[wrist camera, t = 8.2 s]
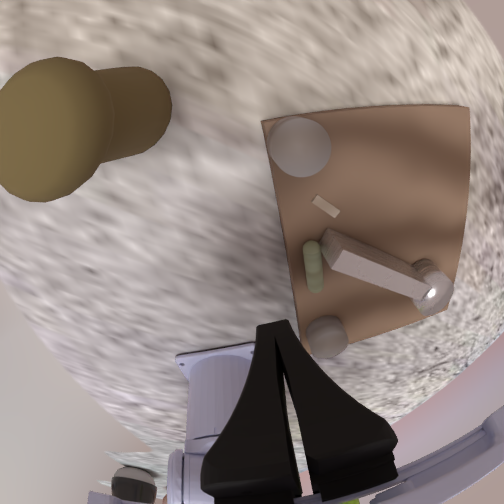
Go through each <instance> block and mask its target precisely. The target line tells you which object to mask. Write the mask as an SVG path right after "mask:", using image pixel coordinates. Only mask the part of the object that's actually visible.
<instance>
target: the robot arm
mask: <svg viewBox="0 0 504 504" xmlns="http://www.w3.org/2000/svg"><path fill="white" fill-rule="evenodd" d="M175 362H176V363H177V365H178V367H179V368H180V370H181V371H182V373H183V374H184V376H185V377H186V379H187V380H188V382H189V390H188V407H187V426H186V440H185V453H183V450H182V449H176V450H175V452H173V453H171V454H170V455H169V461H168V474H167V504H341V503H344V502H348V501H351V500H355V499H358V498H361V497H364V496H367V495H370V494H373V493H376V492H379V491H381V490H384V489H387V488H389V487H392V486H394V485H397V484H399V483H401V484H399V485H397V486H395V487H393V488H391V489H388V490H386V491H384V492H382V493H379V494H377V495H376V496H375V497H376V498H374V499H372V500H371V501H370V504H442V503H444V502H446V501H447V500H449V499H451V498H453V497H454V496H456V495H458V494H459V493H461V492H462V491H464V490H466V489H467V488H469V487H470V486H472V485H474V484H475V483H476V482H478V481H479V480H481V479H482V478H484V477H485V476H487V475H488V474H489V473H491V472H492V471H493V470H495V469H496V468H497V467H499V466H500V465H501V464H502V463H504V406H502V407H501V408H499V409H498V410H497V411H495V412H494V413H492V414H491V415H490V416H489V417H487V419H485V421H484V422H483V423H482V425H480V426H478V427H477V428H475V429H474V430H472V431H470V432H469V433H467V434H466V435H464V436H462V437H460V438H459V439H457V440H455V441H453V442H452V443H450V444H448V445H446V446H444V447H442V448H440V449H439V450H437V451H435V452H433V453H431V454H429V455H427V456H424V457H422V458H420V459H418V460H416V461H414V462H411V463H409V464H407V465H404V466H402V467H400V468H397V469H396V467H395V464H394V460H395V458H394V455H393V452H392V451H393V449H394V448H395V446H396V445H397V442H398V439H397V436H396V434H395V433H394V431H393V429H392V428H391V426H390V425H389V424H388V422H387V421H386V420H385V419H384V418H382V417H380V416H379V415H377V414H375V413H374V412H372V411H371V410H369V409H368V408H366V407H365V406H363V405H362V404H360V403H359V402H358V401H356V400H355V399H354V398H352V397H351V396H350V395H349V394H347V393H346V392H345V391H344V390H342V389H341V388H340V387H339V386H338V385H337V384H336V383H335V382H334V381H333V380H332V379H331V378H330V377H329V376H328V375H327V374H326V373H325V372H324V371H323V370H322V369H321V368H320V367H319V366H318V365H317V363H316V362H315V361H314V360H313V359H312V357H311V356H310V355H309V353H308V352H307V351H306V349H305V348H304V347H303V345H302V344H301V342H300V341H299V339H298V338H297V336H296V335H295V333H294V331H293V329H292V327H291V325H290V323H289V321H288V320H286V319H285V320H280V321H276V322H272V323H267V324H262V325H258V326H257V328H256V341H255V343H249V344H244V345H238V346H233V347H228V348H222V349H216V350H210V351H204V352H198V353H192V354H185V355H178V356H176V357H175ZM283 373H284V375H283ZM284 376H285V379H286V382H287V385H288V388H289V392H290V395H291V398H292V401H293V404H294V407H295V410H296V414H297V418H298V422H299V427H300V432H301V436H302V441H303V446H304V451H305V456H306V460H307V465H308V470H309V475H310V480H311V485H312V490H313V495H309V496H304V497H302V495H301V494H302V493H303V492H302V487H301V482H300V477H299V472H298V467H297V463H296V458H295V453H294V448H293V442H292V437H291V432H290V427H289V422H288V416H287V406H286V396H285V385H284ZM404 481H405V482H404ZM402 482H404V483H402ZM87 504H147V503H139V502H131V501H125V500H121V499H119V498H117V497H115V496H111V495H107V494H103V493H98V492H93V491H90V492H89V496H88V503H87Z"/></svg>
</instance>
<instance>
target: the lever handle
mask: <svg viewBox="0 0 504 504" xmlns="http://www.w3.org/2000/svg"><path fill="white" fill-rule="evenodd" d="M319 245H320V247H321V252H322V253H323V255H324V257H325V259H326V261H327V262H328V264H329V266H330V268H331V269H332V270H335V271H338V272H341V273H344V274H346V275H349V276H352V277H355V278H358V279H361V280H363V281H366V282H369V283H372V284H375V285H377V286H380V287H383V288H386V289H389V290H391V291H394V292H397V293H400V294H403V295H405V296H408V297H409V298H410V299H411V301H412V302H413V303H414V305H415V306H416V307H417V309H418V310H419V312H420V313H421V314H422V315H424V316H430V315H433V314H436V313H437V312H439V311H440V310H442V309H443V308H444V307H445V306H446V305H447V303H448V302H449V300H450V299H451V297H452V295H453V291H454V285H453V282H452V281H451V280H450V279H449V278H448V277H447V276H446V275H445V274H444V273H443V272H442V271H441V270H440V269H439V268H438V267H437V266H436V265H435V264H434V263H433V262H432V261H431V260H428V259H424V260H420V261H418V262H416V263H415V264H414V265H411V264H409V263H406V262H404V261H402V260H400V259H398V258H396V257H393V256H391V255H389V254H387V253H385V252H383V251H380V250H378V249H376V248H374V247H371V246H369V245H367V244H365V243H362V242H360V241H358V240H356V239H353V238H351V237H349V236H346V235H344V234H342V233H339V232H337V231H335V230H332V229H330V228H327V229H326V231H325V233H324V235H323V236H322V238H321V240H320V242H319Z"/></svg>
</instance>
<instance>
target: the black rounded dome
mask: <svg viewBox="0 0 504 504" xmlns="http://www.w3.org/2000/svg"><path fill="white" fill-rule="evenodd" d="M111 487H112V496H115V497H117V498H119V499H121V500H125V501H131V502H139V503H147V504H154V502H155V498H156V493H157V487H156V486H155V482H154V479H153V478H152V476H151V475H150V474H149V473H147V472H146V471H144V470H141V469H138V468H134V467H123V468H120V469H119V470H117V471H116V473H115V474H114V477H112V481H111Z"/></svg>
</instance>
